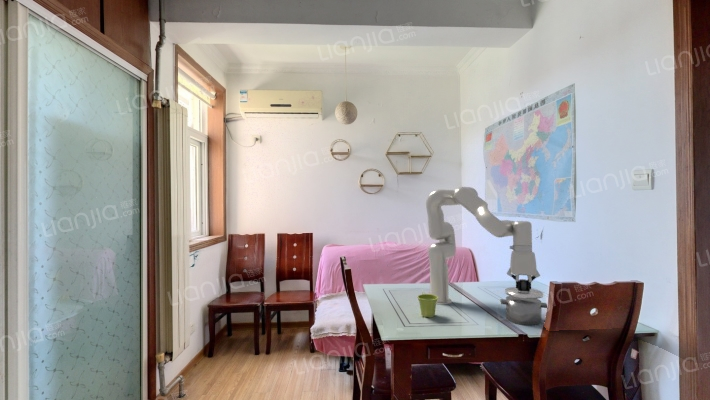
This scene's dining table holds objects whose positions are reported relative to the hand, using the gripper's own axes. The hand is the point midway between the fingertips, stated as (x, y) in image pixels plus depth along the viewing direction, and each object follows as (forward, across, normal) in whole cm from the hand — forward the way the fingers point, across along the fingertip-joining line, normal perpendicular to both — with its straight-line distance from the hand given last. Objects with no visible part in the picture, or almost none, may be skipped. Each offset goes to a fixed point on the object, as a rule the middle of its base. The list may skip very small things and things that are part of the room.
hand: (523, 289), depth 146 cm
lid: (+2, 0, 0) cm, 2 cm away
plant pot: (+13, -41, -7) cm, 44 cm away
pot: (+13, 0, 0) cm, 13 cm away
